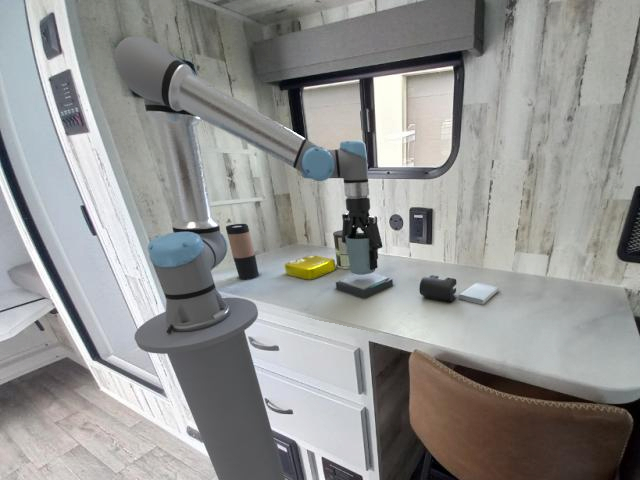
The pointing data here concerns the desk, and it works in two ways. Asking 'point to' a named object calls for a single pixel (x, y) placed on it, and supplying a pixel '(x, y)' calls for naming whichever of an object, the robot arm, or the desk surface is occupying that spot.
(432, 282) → the end cap
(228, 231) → the travel mug
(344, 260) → the coffee can
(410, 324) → the desk surface
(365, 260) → the grey-blue cup
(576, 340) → the desk surface
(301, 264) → the element tile
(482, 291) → the hard drive
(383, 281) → the scale
